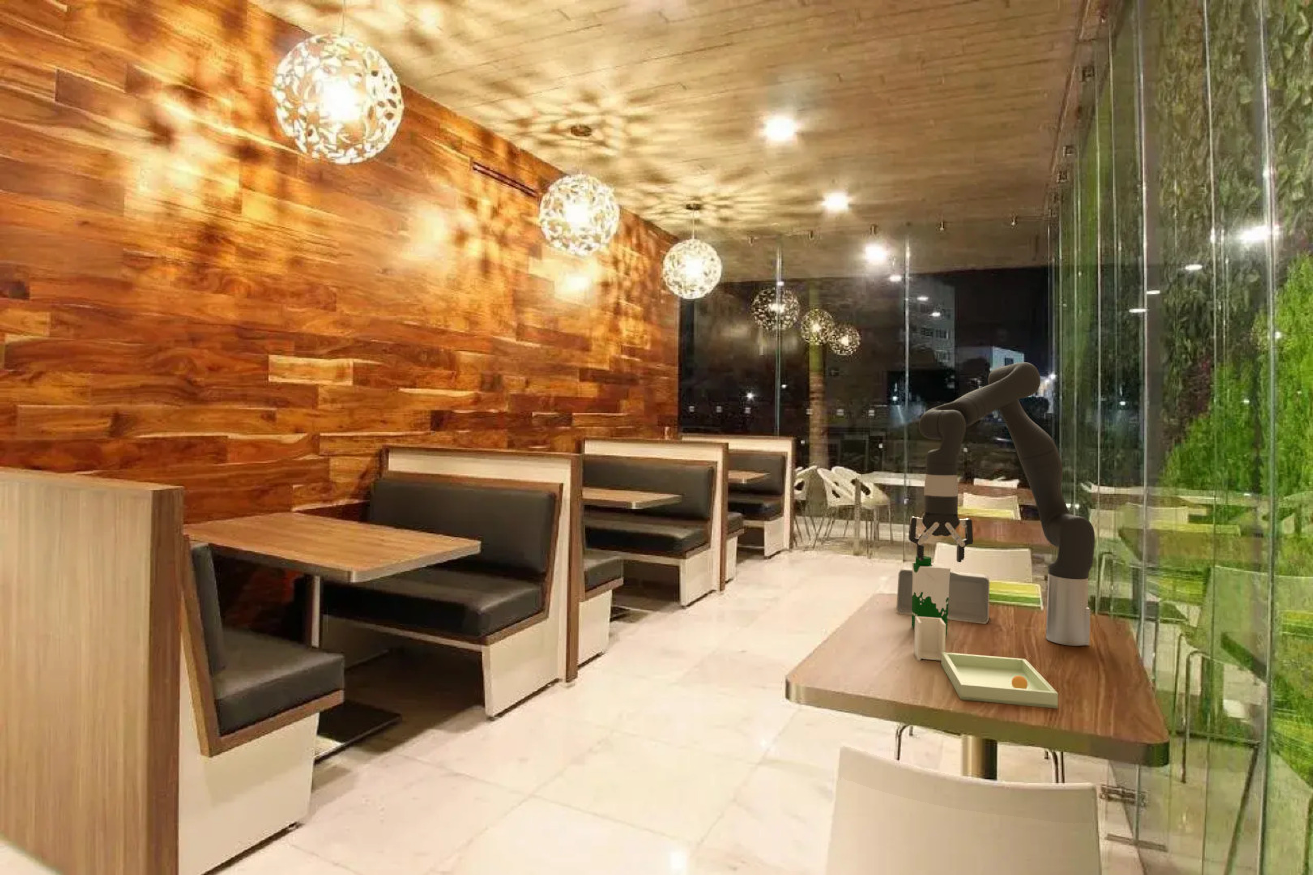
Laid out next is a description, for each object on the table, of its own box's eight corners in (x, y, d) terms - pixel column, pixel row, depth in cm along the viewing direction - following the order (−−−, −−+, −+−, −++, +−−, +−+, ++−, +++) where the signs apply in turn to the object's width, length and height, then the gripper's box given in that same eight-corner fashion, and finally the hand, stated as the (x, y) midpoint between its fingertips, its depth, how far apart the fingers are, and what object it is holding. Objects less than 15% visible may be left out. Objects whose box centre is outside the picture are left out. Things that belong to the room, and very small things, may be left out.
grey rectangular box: (987, 612, 222) (988, 570, 222) (988, 624, 207) (990, 580, 207) (901, 602, 232) (902, 562, 232) (896, 613, 217) (897, 571, 217)
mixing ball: (1015, 683, 155) (1005, 682, 154) (1023, 673, 154) (1013, 672, 153) (1025, 694, 153) (1015, 693, 151) (1033, 684, 151) (1023, 683, 150)
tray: (1025, 672, 166) (1025, 659, 166) (1057, 708, 145) (1058, 693, 145) (941, 664, 170) (941, 652, 170) (960, 699, 148) (961, 684, 148)
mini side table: (913, 652, 179) (915, 616, 178) (939, 655, 177) (941, 618, 177) (917, 660, 173) (918, 622, 173) (944, 662, 172) (945, 624, 171)
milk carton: (907, 625, 203) (909, 554, 203) (940, 626, 203) (942, 555, 203) (917, 634, 195) (920, 559, 194) (952, 636, 194) (954, 561, 194)
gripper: (969, 492, 177) (968, 559, 178) (907, 491, 180) (906, 557, 180) (976, 495, 170) (975, 565, 170) (912, 494, 173) (911, 562, 173)
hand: (939, 561), depth 175 cm, fingers open, 8 cm apart
